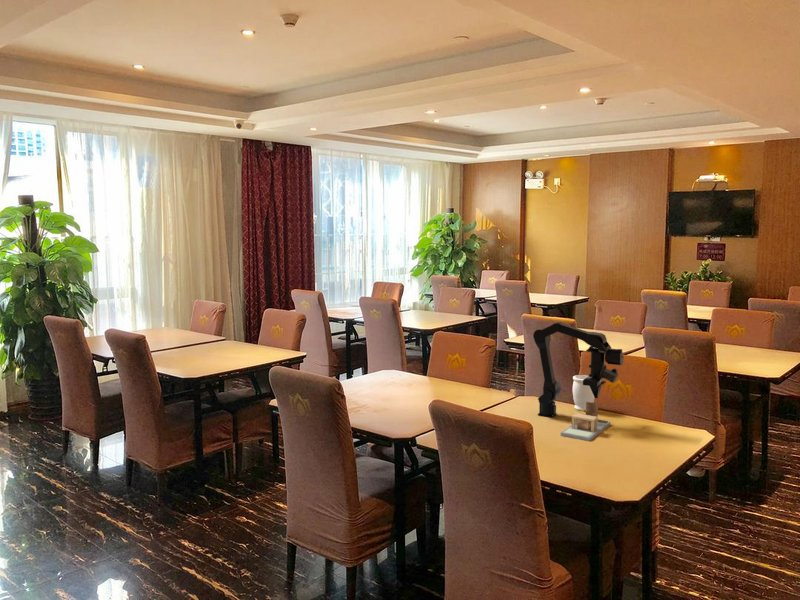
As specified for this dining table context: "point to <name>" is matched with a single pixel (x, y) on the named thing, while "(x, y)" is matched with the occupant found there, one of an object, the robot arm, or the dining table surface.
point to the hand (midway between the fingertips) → (596, 398)
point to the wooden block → (590, 410)
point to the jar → (581, 393)
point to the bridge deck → (584, 434)
